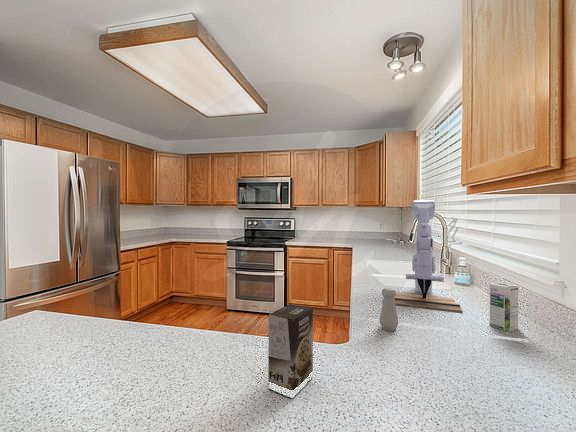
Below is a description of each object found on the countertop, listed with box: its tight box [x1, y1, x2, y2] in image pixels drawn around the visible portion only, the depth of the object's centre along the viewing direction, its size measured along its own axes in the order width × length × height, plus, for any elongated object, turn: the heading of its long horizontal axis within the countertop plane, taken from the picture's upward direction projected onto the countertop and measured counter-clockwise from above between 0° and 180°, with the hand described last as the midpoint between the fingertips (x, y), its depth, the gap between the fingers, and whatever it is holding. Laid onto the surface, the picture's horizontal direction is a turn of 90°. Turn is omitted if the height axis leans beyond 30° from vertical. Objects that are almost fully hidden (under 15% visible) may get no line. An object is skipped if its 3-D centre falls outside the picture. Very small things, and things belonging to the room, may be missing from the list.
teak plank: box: [394, 292, 457, 304], centre depth 123 cm, size 10×26×2 cm, turn 67°
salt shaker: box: [378, 287, 399, 332], centre depth 93 cm, size 6×6×13 cm
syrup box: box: [488, 282, 519, 332], centre depth 93 cm, size 6×6×14 cm
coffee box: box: [267, 303, 314, 390], centre depth 63 cm, size 9×6×16 cm
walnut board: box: [382, 298, 463, 314], centre depth 114 cm, size 6×28×2 cm, turn 67°
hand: (424, 297), depth 123 cm, fingers closed
